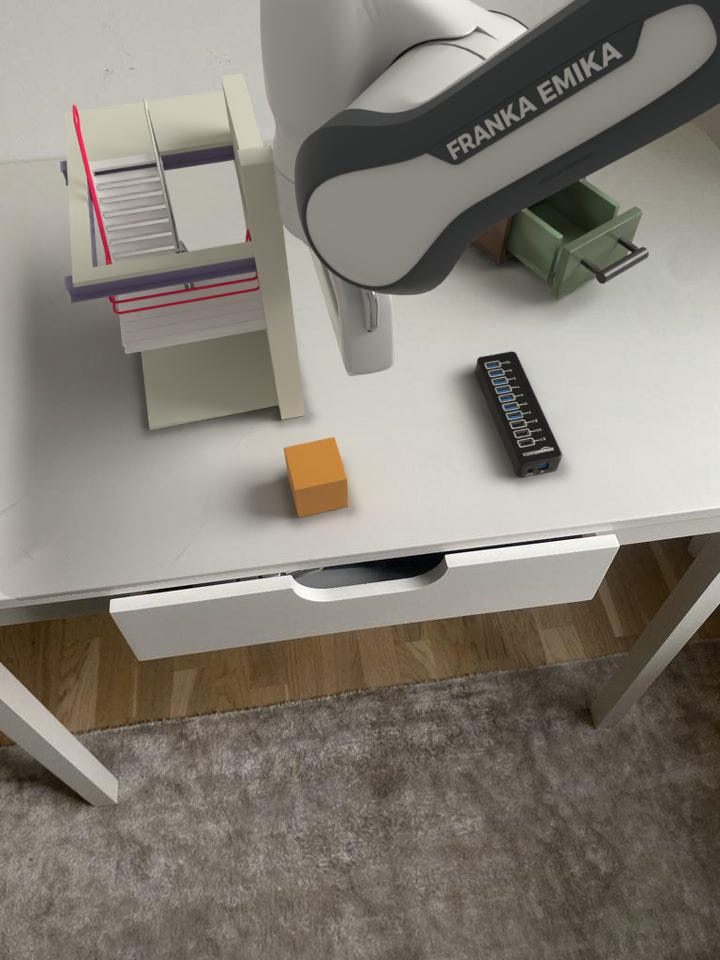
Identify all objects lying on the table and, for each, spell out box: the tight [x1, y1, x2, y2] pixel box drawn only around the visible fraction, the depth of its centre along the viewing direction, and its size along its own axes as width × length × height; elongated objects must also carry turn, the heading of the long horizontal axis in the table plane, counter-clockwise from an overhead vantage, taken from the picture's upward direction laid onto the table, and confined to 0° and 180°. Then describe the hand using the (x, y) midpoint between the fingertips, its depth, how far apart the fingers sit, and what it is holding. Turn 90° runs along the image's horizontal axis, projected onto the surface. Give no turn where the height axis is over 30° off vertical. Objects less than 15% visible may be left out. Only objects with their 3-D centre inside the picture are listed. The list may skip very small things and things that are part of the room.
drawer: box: [506, 179, 650, 300], centre depth 90 cm, size 18×12×7 cm, turn 36°
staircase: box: [59, 72, 306, 431], centre depth 74 cm, size 27×18×30 cm
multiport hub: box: [474, 350, 563, 479], centre depth 79 cm, size 4×14×2 cm, turn 13°
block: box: [283, 436, 349, 518], centre depth 73 cm, size 5×5×5 cm
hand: (343, 328), depth 66 cm, fingers open, 8 cm apart
